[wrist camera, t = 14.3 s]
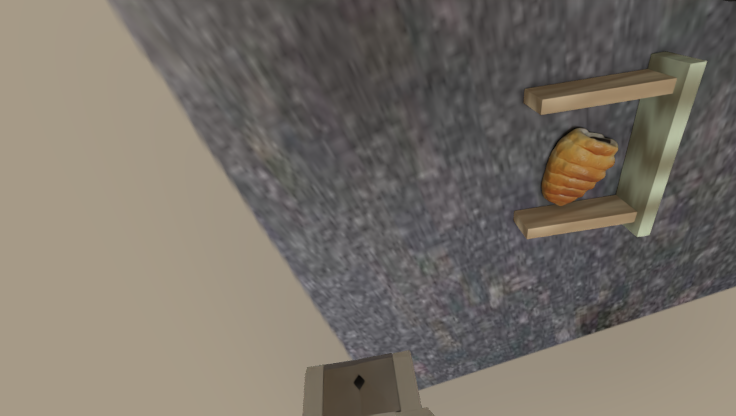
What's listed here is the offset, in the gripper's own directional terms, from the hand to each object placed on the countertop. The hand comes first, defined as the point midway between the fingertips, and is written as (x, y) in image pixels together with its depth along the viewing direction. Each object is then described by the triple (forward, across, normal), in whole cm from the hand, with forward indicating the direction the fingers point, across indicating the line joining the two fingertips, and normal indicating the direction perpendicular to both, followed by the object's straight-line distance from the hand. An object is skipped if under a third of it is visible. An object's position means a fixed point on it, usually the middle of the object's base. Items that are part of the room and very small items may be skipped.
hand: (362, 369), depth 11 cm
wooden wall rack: (+32, -25, +13) cm, 42 cm away
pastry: (+32, -26, +14) cm, 43 cm away
